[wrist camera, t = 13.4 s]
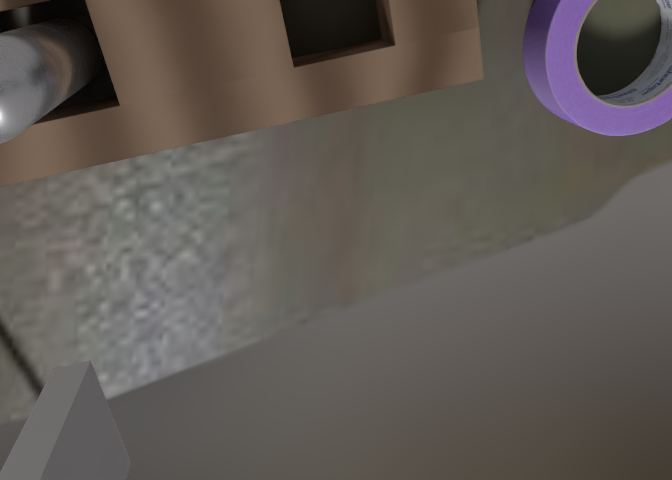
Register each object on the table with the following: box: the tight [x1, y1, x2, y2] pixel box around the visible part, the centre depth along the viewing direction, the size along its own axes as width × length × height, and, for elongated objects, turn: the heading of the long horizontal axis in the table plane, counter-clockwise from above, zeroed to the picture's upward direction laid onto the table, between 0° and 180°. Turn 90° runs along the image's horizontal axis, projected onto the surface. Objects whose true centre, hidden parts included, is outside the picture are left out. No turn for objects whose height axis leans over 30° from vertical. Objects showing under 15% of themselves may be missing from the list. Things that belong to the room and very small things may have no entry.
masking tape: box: [523, 0, 672, 136], centre depth 41 cm, size 12×12×4 cm
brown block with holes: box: [0, 0, 484, 187], centre depth 36 cm, size 32×12×4 cm, turn 100°
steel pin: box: [0, 19, 101, 144], centre depth 31 cm, size 4×4×14 cm
